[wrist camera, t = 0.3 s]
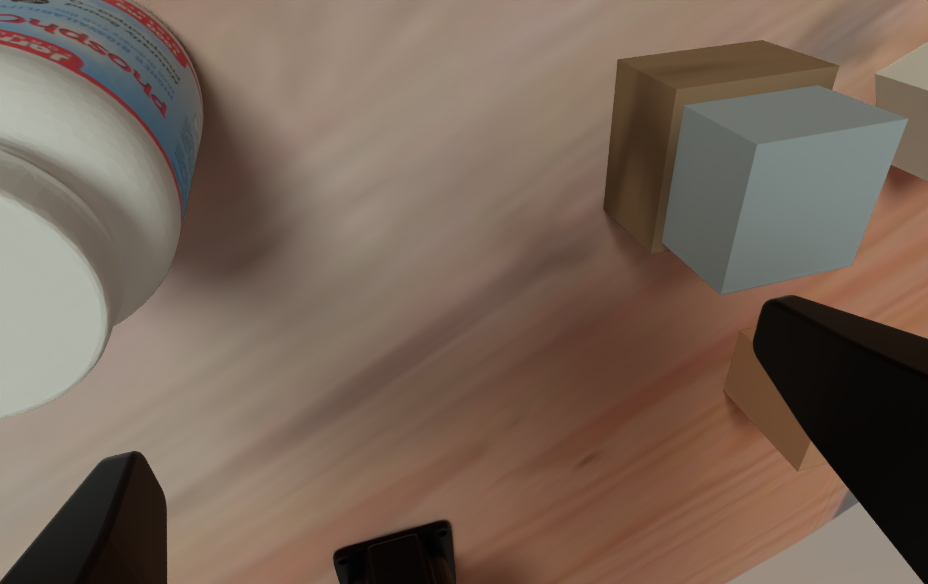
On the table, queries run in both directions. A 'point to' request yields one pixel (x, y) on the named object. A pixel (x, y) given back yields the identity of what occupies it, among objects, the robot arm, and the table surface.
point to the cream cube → (908, 107)
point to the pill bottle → (85, 181)
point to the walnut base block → (660, 114)
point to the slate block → (776, 184)
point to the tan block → (767, 406)
